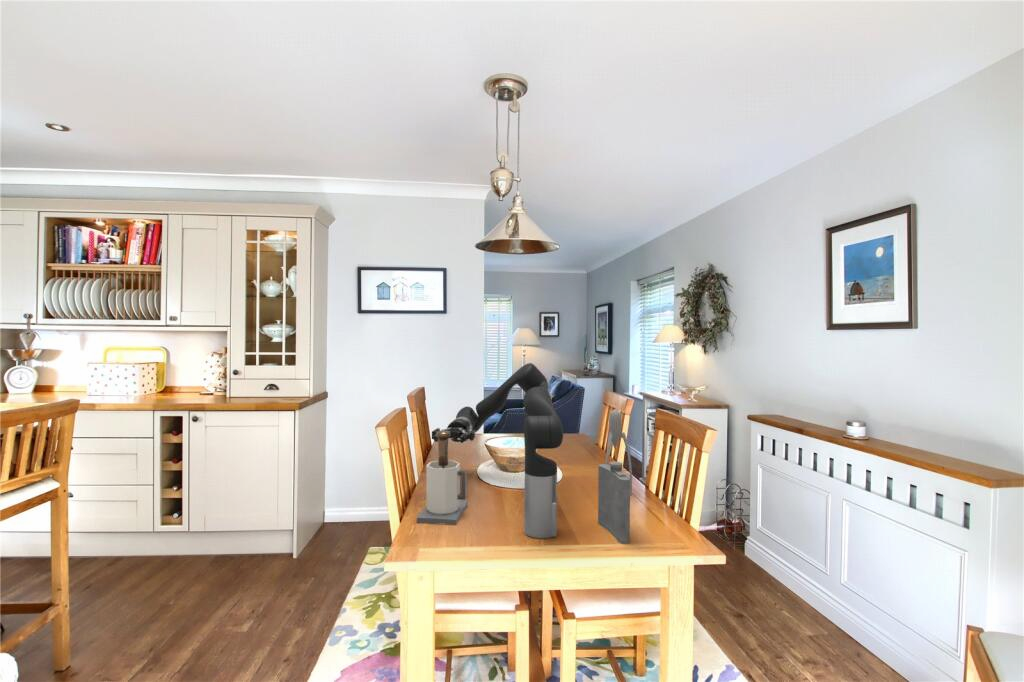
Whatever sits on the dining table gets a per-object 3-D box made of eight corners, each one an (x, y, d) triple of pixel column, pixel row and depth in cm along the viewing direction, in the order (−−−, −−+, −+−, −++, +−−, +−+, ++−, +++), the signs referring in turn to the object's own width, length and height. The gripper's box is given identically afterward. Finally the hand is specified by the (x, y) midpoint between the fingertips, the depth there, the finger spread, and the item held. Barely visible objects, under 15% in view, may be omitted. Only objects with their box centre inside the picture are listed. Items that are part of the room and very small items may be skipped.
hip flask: (596, 522, 151) (596, 456, 150) (608, 520, 152) (609, 455, 152) (620, 544, 136) (621, 471, 135) (634, 542, 137) (635, 470, 136)
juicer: (632, 501, 169) (633, 412, 168) (605, 499, 171) (606, 411, 170) (631, 491, 179) (632, 407, 178) (605, 489, 181) (606, 406, 180)
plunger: (458, 500, 160) (458, 429, 160) (452, 509, 153) (452, 435, 152) (434, 499, 161) (434, 429, 161) (427, 507, 154) (427, 434, 153)
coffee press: (471, 505, 164) (471, 458, 164) (460, 524, 148) (460, 472, 148) (431, 503, 166) (431, 457, 165) (416, 522, 150) (416, 471, 149)
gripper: (440, 417, 180) (427, 427, 164) (479, 419, 179) (470, 428, 162) (440, 438, 181) (427, 449, 164) (479, 439, 179) (470, 451, 163)
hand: (448, 439), depth 163 cm, fingers open, 8 cm apart
